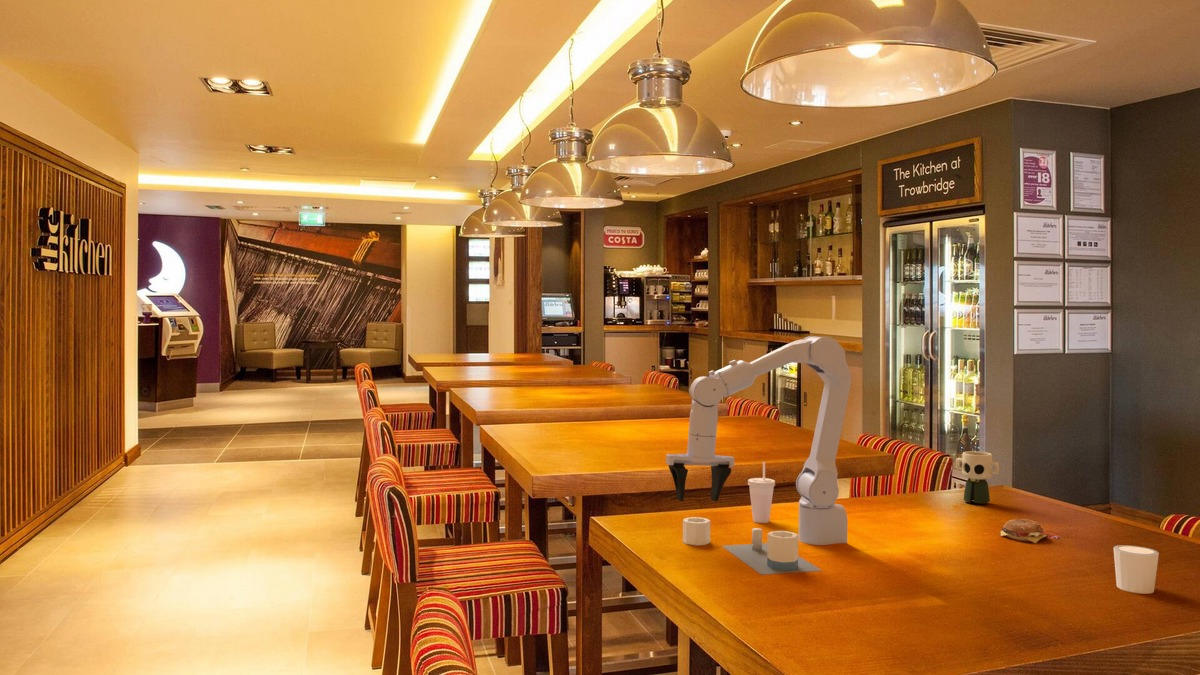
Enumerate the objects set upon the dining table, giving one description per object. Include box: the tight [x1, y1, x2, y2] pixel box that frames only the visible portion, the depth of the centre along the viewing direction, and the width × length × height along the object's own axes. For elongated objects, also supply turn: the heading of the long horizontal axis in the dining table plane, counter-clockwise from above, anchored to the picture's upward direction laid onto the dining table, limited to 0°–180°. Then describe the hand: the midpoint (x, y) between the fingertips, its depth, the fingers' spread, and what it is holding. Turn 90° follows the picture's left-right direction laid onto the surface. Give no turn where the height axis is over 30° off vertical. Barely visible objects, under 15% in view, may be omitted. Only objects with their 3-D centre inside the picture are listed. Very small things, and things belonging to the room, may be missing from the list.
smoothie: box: [747, 461, 776, 524], centre depth 202 cm, size 6×6×14 cm
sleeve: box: [682, 516, 711, 547], centre depth 178 cm, size 5×5×6 cm
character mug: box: [955, 450, 1000, 505], centre depth 223 cm, size 11×7×13 cm, turn 46°
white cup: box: [1113, 544, 1160, 595], centre depth 153 cm, size 7×7×7 cm
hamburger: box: [1000, 518, 1062, 544], centre depth 189 cm, size 14×14×6 cm
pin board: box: [721, 527, 823, 576], centre depth 166 cm, size 12×20×6 cm, turn 13°
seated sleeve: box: [766, 530, 799, 571], centre depth 161 cm, size 5×5×6 cm
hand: (697, 500), depth 178 cm, fingers open, 7 cm apart
